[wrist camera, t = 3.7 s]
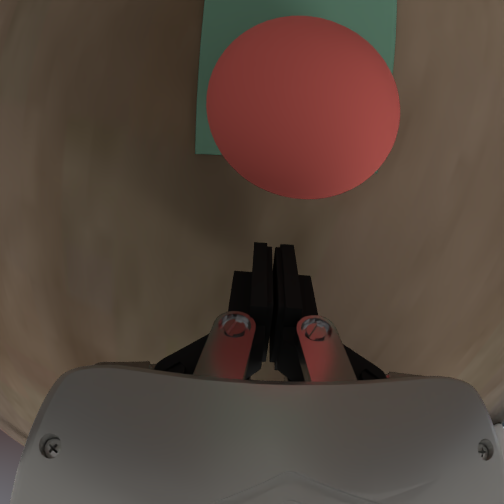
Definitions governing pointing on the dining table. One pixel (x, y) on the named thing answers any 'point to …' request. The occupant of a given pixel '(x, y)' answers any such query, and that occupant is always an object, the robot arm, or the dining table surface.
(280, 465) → the robot arm
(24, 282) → the dining table surface
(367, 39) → the strip
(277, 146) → the ball
